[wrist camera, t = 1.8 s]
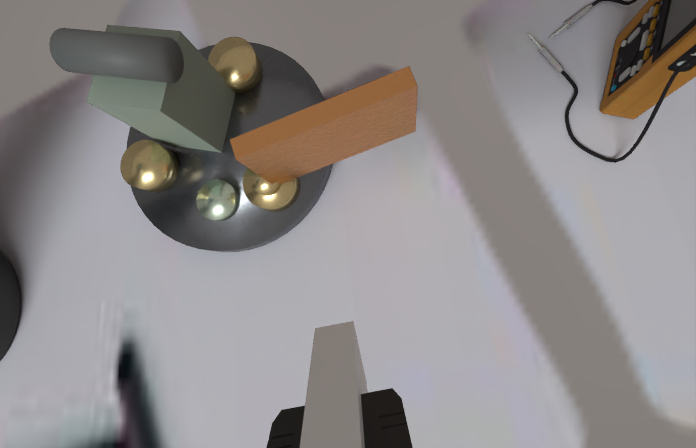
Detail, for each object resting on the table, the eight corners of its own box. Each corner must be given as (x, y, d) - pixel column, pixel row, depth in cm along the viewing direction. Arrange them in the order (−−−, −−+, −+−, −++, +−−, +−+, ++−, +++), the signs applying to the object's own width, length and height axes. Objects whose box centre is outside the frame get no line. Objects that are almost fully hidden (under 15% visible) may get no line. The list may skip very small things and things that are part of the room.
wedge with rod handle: (154, 143, 37) (38, 80, 25) (169, 84, 37) (62, -3, 26) (231, 154, 35) (145, 93, 24) (245, 92, 36) (168, 4, 24)
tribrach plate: (119, 232, 38) (86, 227, 34) (166, 46, 40) (140, 21, 36) (311, 269, 35) (299, 268, 31) (352, 62, 37) (345, 37, 33)
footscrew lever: (260, 219, 33) (203, 196, 24) (246, 173, 34) (185, 134, 25) (421, 157, 32) (426, 107, 23) (402, 111, 33) (400, 45, 24)
